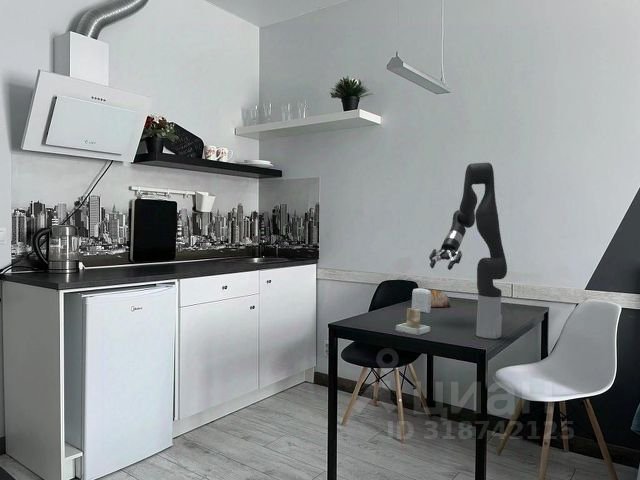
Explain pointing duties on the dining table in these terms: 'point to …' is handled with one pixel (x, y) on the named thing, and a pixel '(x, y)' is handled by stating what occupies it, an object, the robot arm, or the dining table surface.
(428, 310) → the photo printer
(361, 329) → the dining table surface
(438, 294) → the bread
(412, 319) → the birch block
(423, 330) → the tray
